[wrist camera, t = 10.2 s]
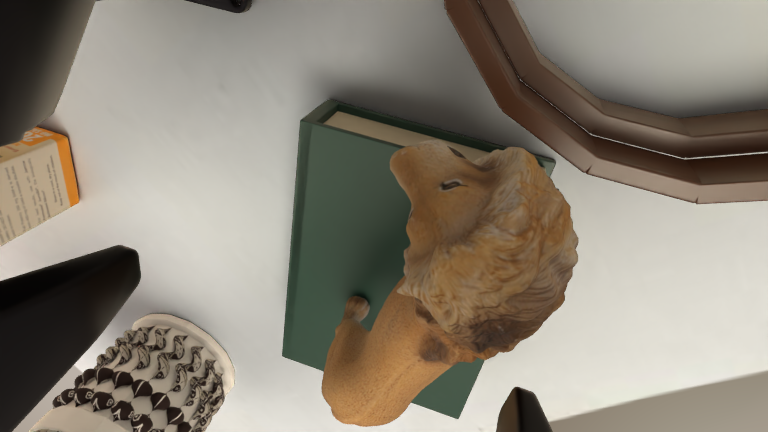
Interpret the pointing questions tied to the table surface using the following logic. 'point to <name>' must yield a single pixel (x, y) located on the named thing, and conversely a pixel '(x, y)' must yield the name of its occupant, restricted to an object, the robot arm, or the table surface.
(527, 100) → the ring
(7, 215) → the supplement box
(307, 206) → the book
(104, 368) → the decorative candle
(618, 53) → the table surface
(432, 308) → the lion figurine
